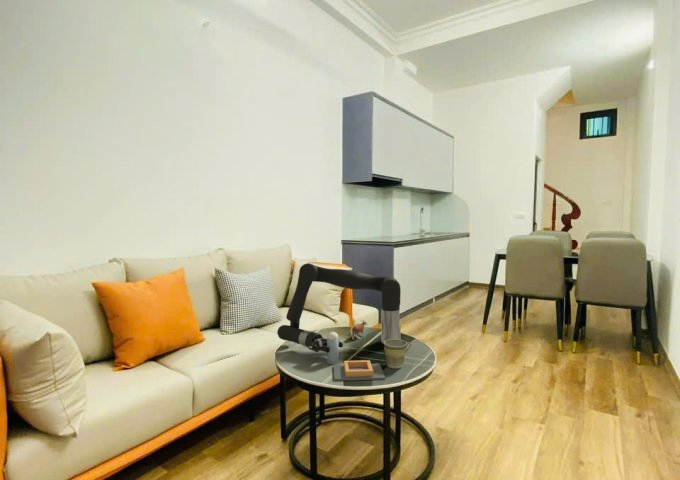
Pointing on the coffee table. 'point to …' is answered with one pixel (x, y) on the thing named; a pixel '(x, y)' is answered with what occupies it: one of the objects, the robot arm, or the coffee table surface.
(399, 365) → the ceramic cup
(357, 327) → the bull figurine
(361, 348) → the coffee table surface
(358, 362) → the jig
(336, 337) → the pale grey cylinder
